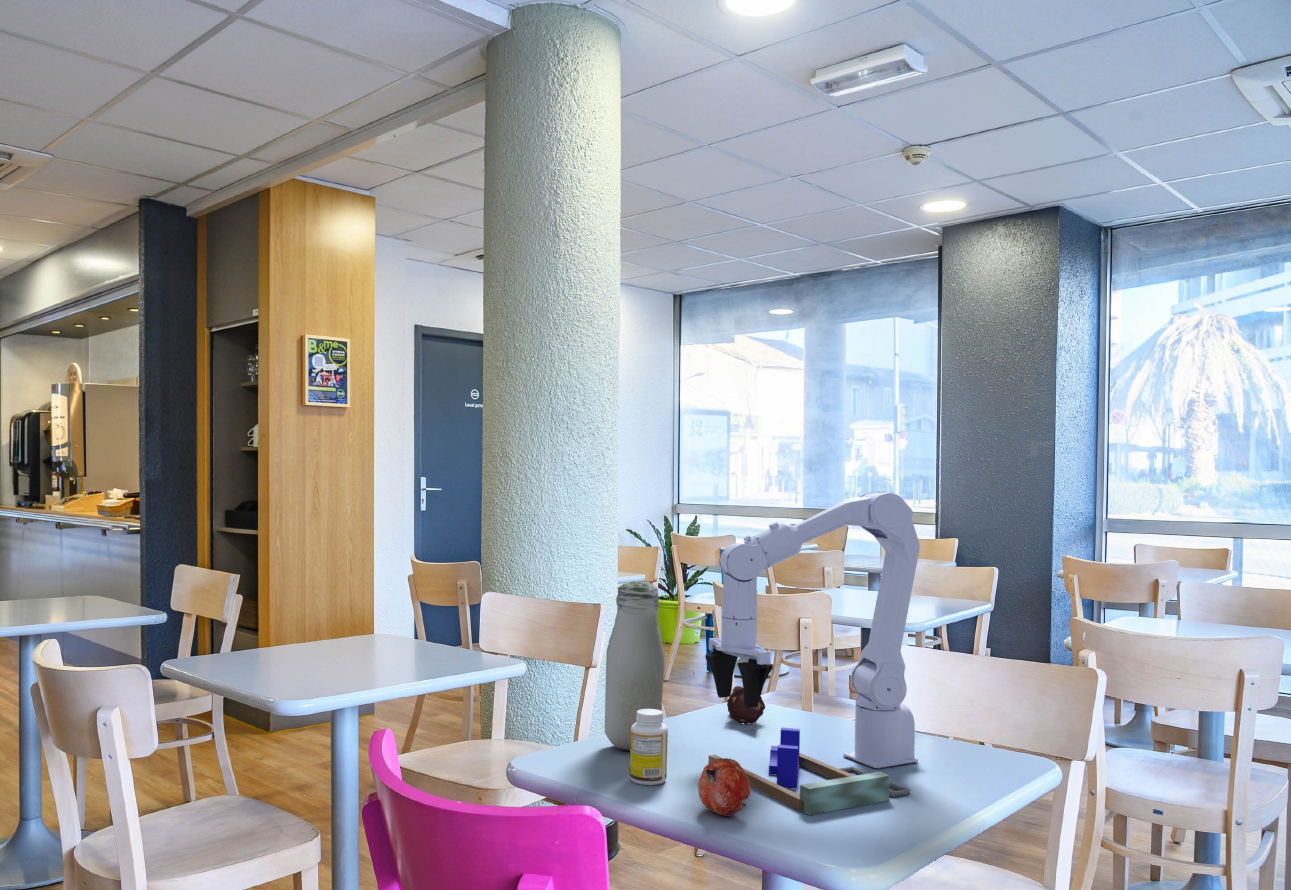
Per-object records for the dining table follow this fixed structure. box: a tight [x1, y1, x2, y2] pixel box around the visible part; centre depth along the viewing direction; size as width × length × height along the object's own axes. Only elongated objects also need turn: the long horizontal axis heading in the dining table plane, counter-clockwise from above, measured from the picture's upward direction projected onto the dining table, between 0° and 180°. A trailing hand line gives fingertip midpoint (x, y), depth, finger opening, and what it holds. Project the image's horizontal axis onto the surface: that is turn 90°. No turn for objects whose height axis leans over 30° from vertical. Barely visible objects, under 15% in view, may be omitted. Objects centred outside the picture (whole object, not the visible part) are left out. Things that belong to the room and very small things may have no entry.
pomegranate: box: [697, 757, 751, 817], centre depth 125 cm, size 7×7×10 cm
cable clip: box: [768, 727, 801, 789], centre depth 142 cm, size 12×4×6 cm, turn 169°
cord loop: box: [839, 766, 911, 798], centre depth 139 cm, size 4×13×1 cm, turn 29°
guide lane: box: [707, 752, 890, 816], centre depth 139 cm, size 15×25×4 cm, turn 29°
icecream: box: [726, 685, 766, 724], centre depth 174 cm, size 7×7×15 cm
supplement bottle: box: [629, 709, 669, 786], centre depth 138 cm, size 6×6×10 cm
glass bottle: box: [604, 580, 666, 751], centre depth 155 cm, size 10×10×28 cm
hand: (737, 701), depth 149 cm, fingers open, 7 cm apart
